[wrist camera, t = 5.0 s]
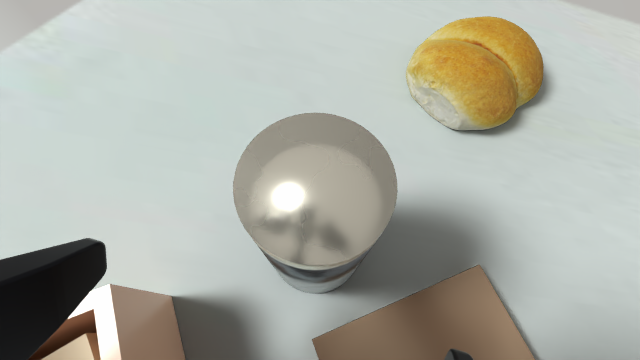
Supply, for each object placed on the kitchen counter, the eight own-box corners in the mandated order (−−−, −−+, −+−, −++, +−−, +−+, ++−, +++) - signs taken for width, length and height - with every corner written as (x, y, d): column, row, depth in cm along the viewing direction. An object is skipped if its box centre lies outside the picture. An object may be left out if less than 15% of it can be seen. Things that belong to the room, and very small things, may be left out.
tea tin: (290, 308, 19) (265, 294, 9) (259, 224, 20) (213, 143, 11) (374, 271, 19) (427, 224, 10) (337, 193, 21) (354, 94, 12)
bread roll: (548, 83, 25) (588, 41, 21) (471, 155, 23) (501, 122, 19) (460, 22, 27) (482, -25, 24) (383, 81, 25) (393, 39, 21)
